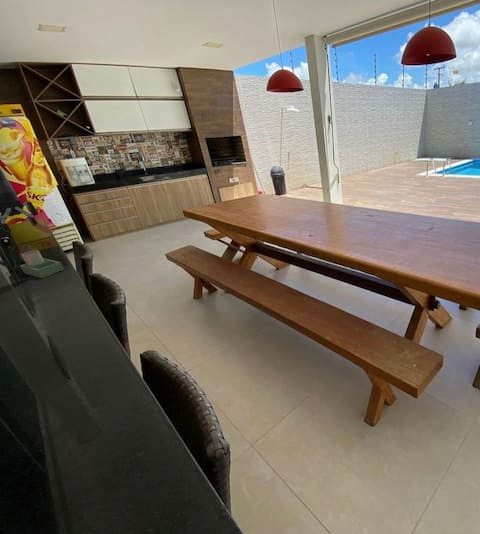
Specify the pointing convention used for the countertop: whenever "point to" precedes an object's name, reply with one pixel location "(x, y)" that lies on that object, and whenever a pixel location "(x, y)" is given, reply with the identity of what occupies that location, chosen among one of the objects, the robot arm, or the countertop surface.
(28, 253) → the beige rectangular block
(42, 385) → the countertop surface
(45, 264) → the holder
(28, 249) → the vase
